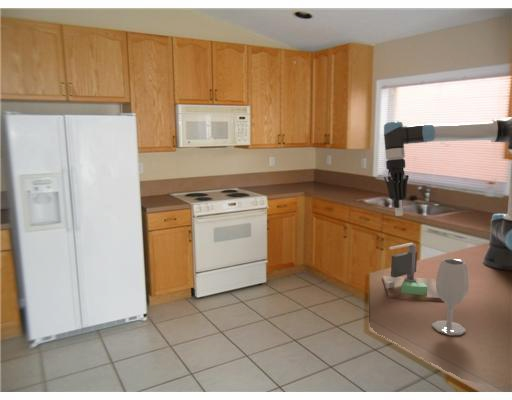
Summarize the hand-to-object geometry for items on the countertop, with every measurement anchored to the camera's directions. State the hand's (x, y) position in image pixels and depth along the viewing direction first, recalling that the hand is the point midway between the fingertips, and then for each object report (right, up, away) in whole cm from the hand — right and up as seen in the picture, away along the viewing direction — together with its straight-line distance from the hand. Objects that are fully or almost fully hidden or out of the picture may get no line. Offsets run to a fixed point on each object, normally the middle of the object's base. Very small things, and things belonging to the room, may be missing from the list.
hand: (399, 215), depth 171 cm
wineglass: (-3, -32, -50) cm, 59 cm away
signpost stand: (-5, -25, -16) cm, 30 cm away
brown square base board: (-2, -27, -18) cm, 33 cm away
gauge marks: (-5, -26, -23) cm, 35 cm away
